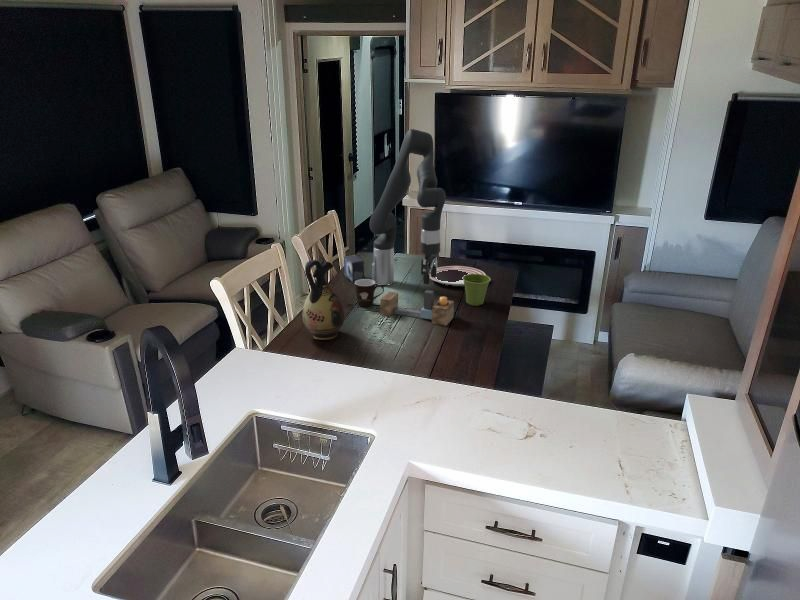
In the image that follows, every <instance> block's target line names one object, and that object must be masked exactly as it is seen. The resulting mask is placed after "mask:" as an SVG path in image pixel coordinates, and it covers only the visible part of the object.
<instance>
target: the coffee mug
mask: <svg viewBox="0 0 800 600" xmlns="http://www.w3.org/2000/svg"><path fill="white" fill-rule="evenodd" d="M354 288H355V296H356V303H357V306H358V307H359V306H360V308H370V307H369V306H371V307H372V306H373V304H374V300H375V299H376V298H378V297H380V296H381V295H382V294H383V293H384V291H385V288H384V286H381V285H376V284H375V281H374V280H372V278H371V279H369V278H364V279H360V280H357V281H355V283H354ZM377 288H382V291H381V292H380V293H379V294H378V295H376V296H374V295H375V291H376V289H377Z"/></svg>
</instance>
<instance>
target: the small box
mask: <svg viewBox="0 0 800 600" xmlns="http://www.w3.org/2000/svg"><path fill="white" fill-rule="evenodd" d="M343 274H344V275H345V276H346V277H347V278H348V279H350V280H351V281H352V282H354V281H357V280H360V279H365V260H364V259H362V258H360V257H359V256H357V255H356V254H352V255H346V256H343ZM344 275H343V276H344ZM347 278H346V279H347ZM348 279H347V280H348ZM352 282H351V283H352Z"/></svg>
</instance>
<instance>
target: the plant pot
mask: <svg viewBox="0 0 800 600" xmlns="http://www.w3.org/2000/svg"><path fill="white" fill-rule="evenodd" d="M462 279H463V280H464V285H465V286H464V292H465V302H466V304H467V305H470V306H475V307H476V306H480V305H483V304H484V301H485V298H486V294H487V291H488V286H489V283H490V282H491V281H492V278H491V277H490V276H488V275H487V274H486V275H482V274H467V275H464V276H463V277H462Z"/></svg>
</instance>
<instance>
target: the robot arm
mask: <svg viewBox="0 0 800 600" xmlns="http://www.w3.org/2000/svg"><path fill="white" fill-rule="evenodd" d="M434 149H435V148H434V139H433V136H432V134H430V133H429V132H425V131H422V130H418V129H415V128H414V129H413V128H410V129H409V130H407V132H406V134H405V135H404V138H403V141H402V144H401V147H400V150H399V153H398V156H397V159H396V162H395V163H394V166H393V169H392V171H391V173H390V176H389V178H388V180H387V182H386V186H385V188H384V189H383V192H382V195H381V196H380V200H379V202H378V204H377V205H376V207H375V209H374V211H373V213H372V214H371V215H370V220H369V229H370V231H371V232H372V233H373V234H375V235H379V236H377V238H376V239H375V240H374V241H373V262H372V263H371V268H372V269H371V271H372V272H371V273H372V274H371V276H372V278H371V280H374V281H375V283H377V284H380V285H387V286H389V285H388V284H391V285H393V284H394V283H395V275H394V273H395V266H394V265H395V257H394V256H395V249H394V248H395V247H394V246H395V242H396V239H397V238H396V237H397V236H396V235H397V218H396V216H395V215H394V213H393V212H392V211H393V210H394V208H396V207H397V205H398V204H399V203H400V202H401V201H402V200H403V199H404V198H405V196H406V194H407V193H408V191H409V189H410V186H411V183H412V177H411V173H410V169H409V162H408V161H409V156H410V154H413V155H418V156H423V160H422V161H421V162H420V164H418V167H417V169H416V176H417V181H418V182H417V183H418V192H417V197H416V201H417V204H418V205H419V206H420V207H422V208H433V210H431V211H428V212H425V213H423V214H422V216H421V232H420V252H421V254H423V255H424V257H423V259H421V263H420V265H421V266H420V268H421V269H420V275H421V276H422V275H423V279H422V281H423V285H429V284H430V278H429V274H430V270H431V277H434V278H435V277H436V272H437V268H439V267H438V266H439V265H440V253H441V238H442V237H441V235H442V234H441V218H442V212H443V210H444V206H445V203H446V199H447V198H446V197H447V195H446V191H445V189H443V188H442V187H437V186H438V178H437V175H436V170H435V157H434V156H435V155H434V153H435V152H434ZM393 282H394V283H393ZM392 283H393V284H392Z"/></svg>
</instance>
